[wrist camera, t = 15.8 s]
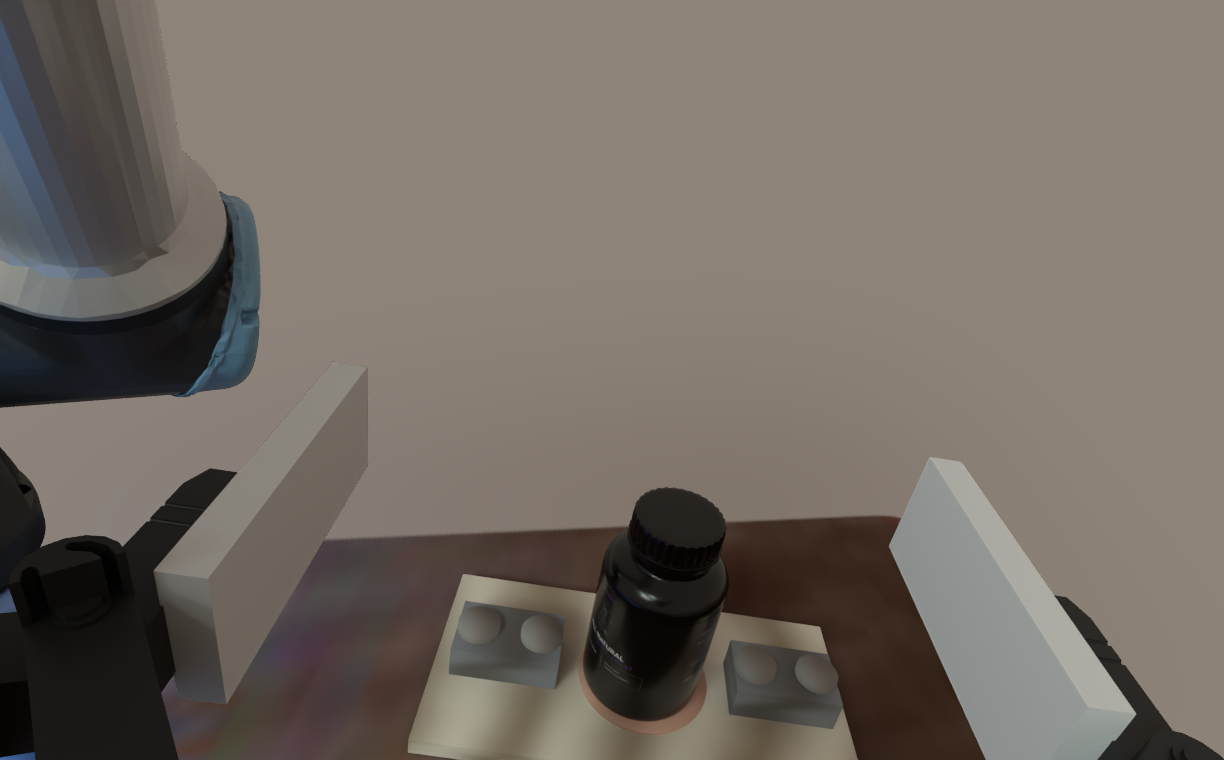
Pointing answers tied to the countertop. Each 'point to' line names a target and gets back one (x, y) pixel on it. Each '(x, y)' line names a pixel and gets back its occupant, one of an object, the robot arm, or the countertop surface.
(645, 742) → the cream base tray
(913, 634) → the countertop surface
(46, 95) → the robot arm
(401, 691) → the countertop surface
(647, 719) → the supplement bottle
